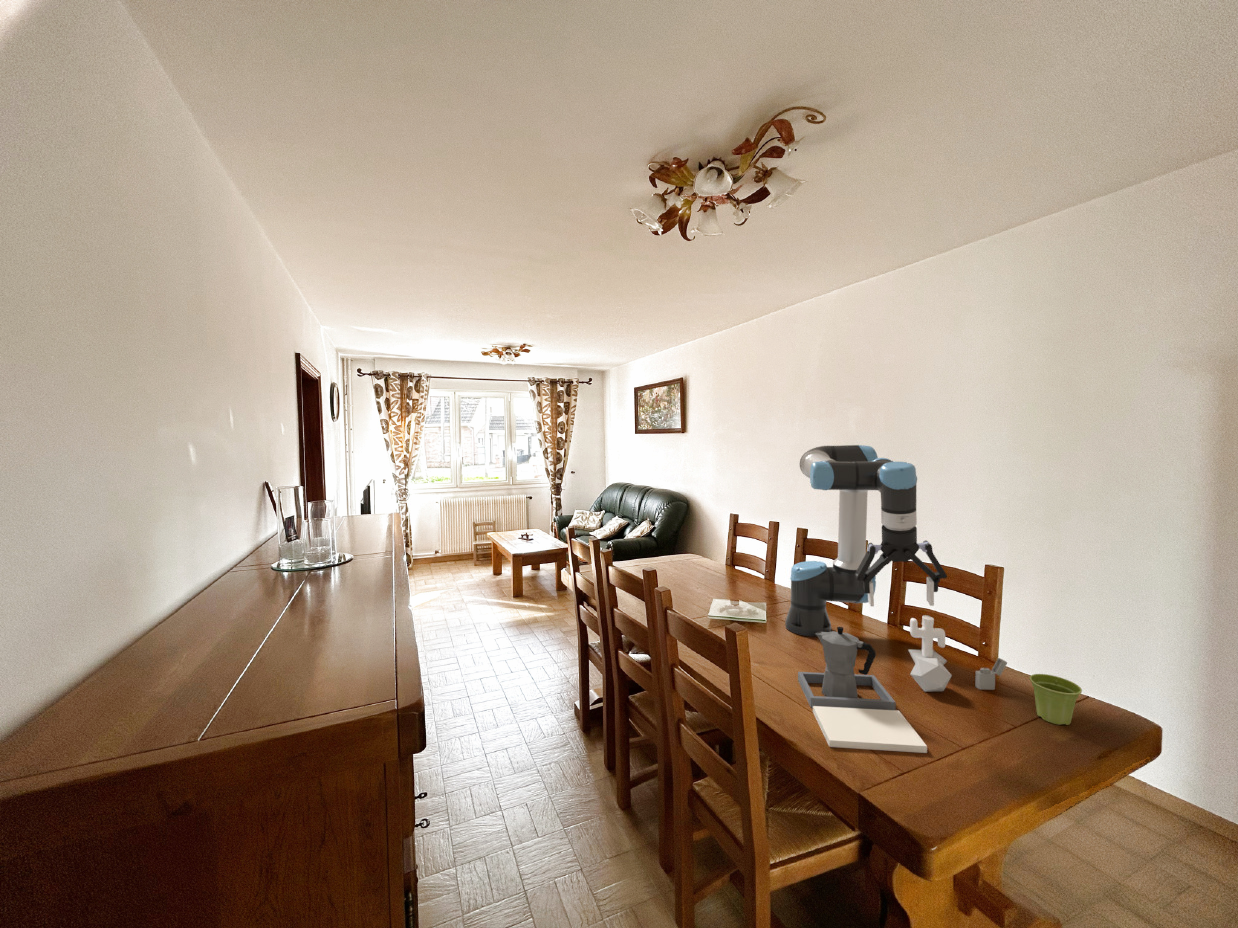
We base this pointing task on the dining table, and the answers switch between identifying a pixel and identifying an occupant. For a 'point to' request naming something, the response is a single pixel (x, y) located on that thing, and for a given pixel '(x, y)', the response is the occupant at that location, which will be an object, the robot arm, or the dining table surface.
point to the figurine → (927, 639)
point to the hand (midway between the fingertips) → (900, 603)
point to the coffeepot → (842, 662)
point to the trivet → (868, 729)
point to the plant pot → (1054, 698)
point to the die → (930, 674)
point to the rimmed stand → (868, 680)
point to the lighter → (989, 675)
